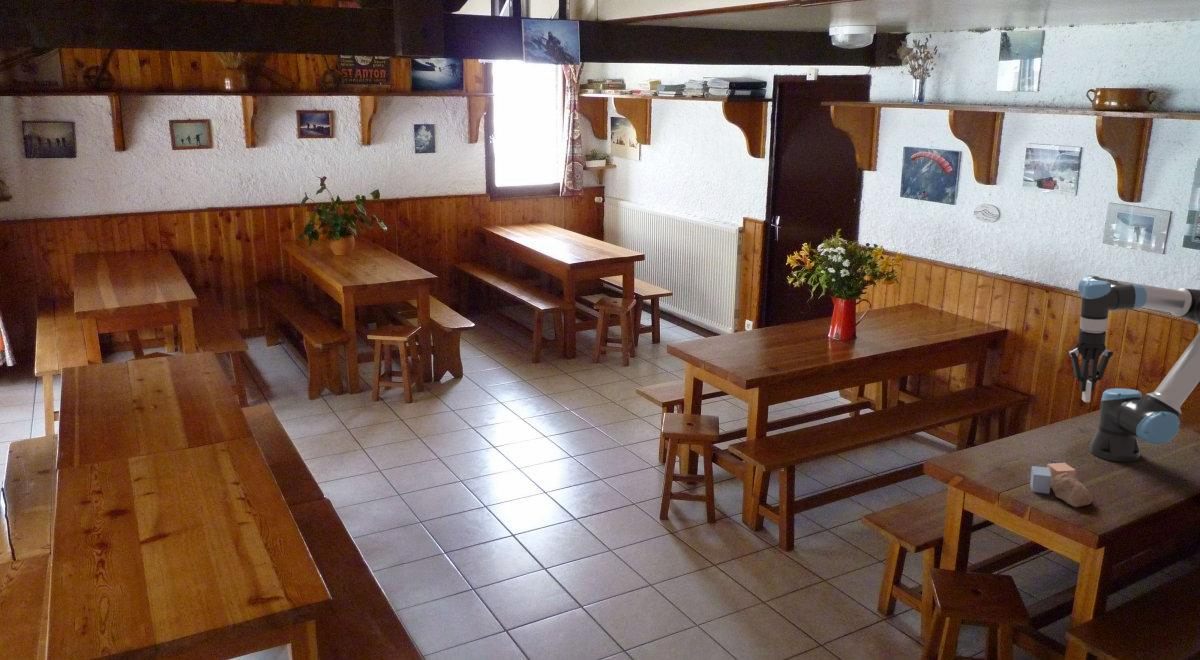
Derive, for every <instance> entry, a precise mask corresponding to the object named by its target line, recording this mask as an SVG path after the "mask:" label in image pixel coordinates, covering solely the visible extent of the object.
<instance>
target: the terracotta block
mask: <svg viewBox="0 0 1200 660" xmlns="http://www.w3.org/2000/svg"><path fill="white" fill-rule="evenodd" d="M1046 467H1047V468H1049V470H1050V473H1051V480H1052V479H1053V478H1054V477H1055V476H1056V475H1059V474H1064V473H1069V474H1071V475H1072V476H1073V477H1075V478H1076V472H1077V471H1076V469H1075V468H1073V467H1072V466H1070V465H1068V464H1067V463H1066V462H1057V463H1056V462H1055V463H1046ZM1050 487H1052V485H1051V484H1050Z"/></svg>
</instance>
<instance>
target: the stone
mask: <svg viewBox="0 0 1200 660" xmlns="http://www.w3.org/2000/svg"><path fill="white" fill-rule="evenodd" d="M1051 485H1052V486H1051ZM1051 485H1050V486H1051V488H1052V491H1053V493H1054V495H1055V497H1056V498H1058V499H1060V500H1062V501H1063V502H1065V503H1066V504H1067V505H1070V506H1072V507H1074V508H1080V507H1083V506H1088V505H1091V504H1092V503H1093V501H1094V496H1093V494H1092V492H1091V491H1089V489H1087V487H1085V485H1084V484H1083V483H1082V482H1081V481H1079V479H1078V478H1076V476H1075V477H1073V476H1072V475H1071V474H1069V473H1064V474H1059V475H1056V476H1055V477H1054V478H1053V479H1052V480H1051Z"/></svg>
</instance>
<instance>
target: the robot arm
mask: <svg viewBox="0 0 1200 660" xmlns="http://www.w3.org/2000/svg"><path fill="white" fill-rule="evenodd" d="M1077 289H1078V293H1079V294H1080V295H1081V309H1080V320H1079V321H1080V322H1079V328H1080V329H1079V330H1078V339H1077V340H1078V341H1077V342H1078V343H1077V344H1076V346H1075V348H1074V349H1072V350H1068V355H1069V357H1071V359H1070V360H1071V365H1072V369H1073V370H1072V371H1073V377H1074V379H1076V380H1077V381H1079V382H1080V383H1079V391H1080V392H1082V393H1081V400H1082V401H1083V402H1084V403H1091V398H1092V397H1091V395H1092V392H1095V384H1096V383H1097V381H1102V379H1103V378H1104V374H1105V371H1106V369H1107V366H1108V363H1109V361H1110V359H1111V357H1112V356H1113V355H1114V352H1113V351H1111V350H1110V349H1107V347H1106V340H1107V339H1106V335H1107V332H1106V330H1107V328H1108V327H1107V326H1108V318H1109V311H1110V312H1111V311H1120V310H1121V311H1122V310H1123V311H1124V310H1134V309H1139V308H1141V309H1142V308H1143V309H1148V310H1153V311H1155V310H1156V311H1161V312H1165V313H1166V312H1167V313H1170V314H1171V315H1172V316H1174V317H1180V318H1183V319H1187V320H1189V321H1192V322H1193V323H1196V324H1197V327H1198V333H1197V334H1196V336H1194V338H1193V339H1192V341H1191V342H1190V343H1189V345H1188V346H1187V347H1186V349H1185V350H1184V352H1183V353H1182V354H1181V355H1180V356H1179V358H1178V359H1177V361H1176V362H1175V364H1174V365H1173V366H1172V367H1171V368H1170V370H1169V372H1168V373H1167V374H1166V376H1165V377H1164V378H1163V379H1162V381H1161V382H1160V383H1159V384H1158V386H1157V387H1156V389H1155V390H1154V391H1153V392H1148V393H1145V394H1144V396H1142V392H1141V391H1140V390H1136V389H1132V388H1122V387H1121V388H1116V387H1115V388H1107V389H1106V390H1105V391H1103V392H1102V396H1101V399H1100V408H1099V419H1098V428H1097V430H1096V433H1095V434H1094V437H1093V438H1092V440H1091V442H1090V444H1089V445H1090V446H1089V452H1090V453H1091V454H1092V455H1094V456H1095V457H1098V458H1100V459H1104V460H1107V461H1113V462H1121V463H1128V462H1129V463H1130V462H1131V463H1132V462H1136V461H1138V460H1139V459H1140V457H1141V449H1140V444H1139V441H1138V439H1139V440H1141V441H1143V442H1146V443H1149V444H1152V445H1161V444H1167V443H1168V442H1170V441H1172V440H1173V439H1174V438H1175V437H1176V436H1177V435H1178V433H1179V432H1180V428H1181V427H1180V425H1181V421H1180V419H1179V418H1180V417H1181V415H1182V410H1181V407H1182V405H1183V404H1184V403H1185V401H1186V400H1187V398H1188V397H1189V396H1190V394H1192V392H1193V391H1194V389H1195V388H1196V387H1197V385H1198V384H1199V383H1200V289H1195V288H1186V287H1178V288H1176V289H1174V288H1173V289H1172V288H1166V287H1159V286H1155V285H1147V284H1141V283H1135V282H1128V281H1122V280H1117V279H1116V280H1115V279H1110V278H1103V277H1100V276H1098V275H1097V276H1096V275H1092V274H1091V275H1086V276H1084V277H1083V278H1082V279H1081V280H1080V281H1079V284H1078V288H1077ZM1079 354H1080V356H1081V367H1080V362H1079V357H1078V356H1079ZM1100 356H1101V357H1100ZM1099 358H1100V361H1099ZM1098 363H1099V364H1098Z"/></svg>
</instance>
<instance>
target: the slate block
mask: <svg viewBox="0 0 1200 660" xmlns="http://www.w3.org/2000/svg"><path fill="white" fill-rule="evenodd" d="M1030 471H1031V472H1030V479H1029V480H1030V481H1029V485H1030V489H1031V492H1032V493H1039V494H1048V495H1050V493H1051V485H1050V484H1051V473H1050V470H1049V468H1047V466H1046V467H1045V466H1036V465H1032V466H1031V470H1030Z"/></svg>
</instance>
